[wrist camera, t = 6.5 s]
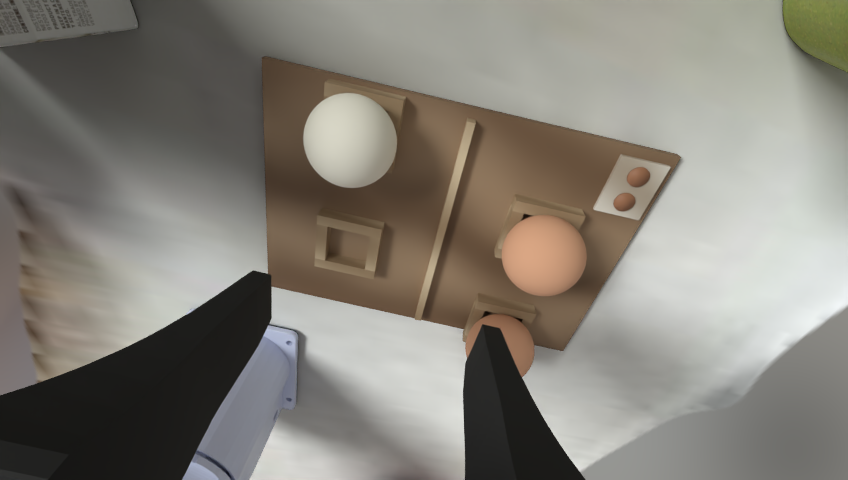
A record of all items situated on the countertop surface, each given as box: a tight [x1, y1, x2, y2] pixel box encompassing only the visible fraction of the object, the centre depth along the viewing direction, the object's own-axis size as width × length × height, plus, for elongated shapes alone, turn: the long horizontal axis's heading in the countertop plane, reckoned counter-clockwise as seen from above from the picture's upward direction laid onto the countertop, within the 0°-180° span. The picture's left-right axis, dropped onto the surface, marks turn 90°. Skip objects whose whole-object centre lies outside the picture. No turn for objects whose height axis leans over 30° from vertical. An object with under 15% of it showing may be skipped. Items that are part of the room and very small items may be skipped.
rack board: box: [262, 56, 681, 351], centre depth 22 cm, size 14×20×1 cm
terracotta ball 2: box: [502, 215, 587, 296], centre depth 19 cm, size 4×4×4 cm
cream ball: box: [303, 93, 397, 188], centre depth 17 cm, size 4×4×4 cm
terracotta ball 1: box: [466, 314, 534, 377], centre depth 23 cm, size 4×4×4 cm
